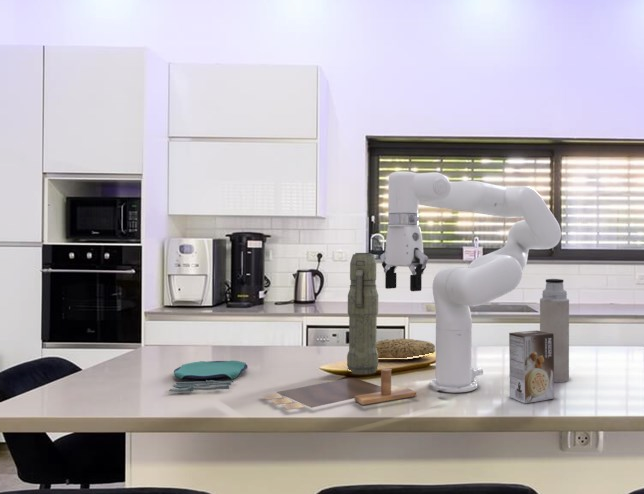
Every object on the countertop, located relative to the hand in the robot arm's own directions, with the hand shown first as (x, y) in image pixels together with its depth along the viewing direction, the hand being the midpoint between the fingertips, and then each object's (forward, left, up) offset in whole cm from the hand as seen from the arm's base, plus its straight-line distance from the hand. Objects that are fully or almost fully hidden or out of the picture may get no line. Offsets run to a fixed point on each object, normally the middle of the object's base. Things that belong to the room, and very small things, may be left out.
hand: (403, 289), depth 139 cm
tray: (+13, -11, -26) cm, 31 cm away
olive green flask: (-5, -24, -26) cm, 36 cm away
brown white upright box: (-22, +23, -26) cm, 41 cm away
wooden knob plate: (+8, +3, -26) cm, 28 cm away
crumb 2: (+27, -11, -26) cm, 40 cm away
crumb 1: (+27, -16, -26) cm, 41 cm away
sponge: (-27, -32, -26) cm, 50 cm away
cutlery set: (+31, -47, -26) cm, 62 cm away
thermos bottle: (-43, +15, -26) cm, 53 cm away
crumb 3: (+27, -6, -26) cm, 38 cm away
